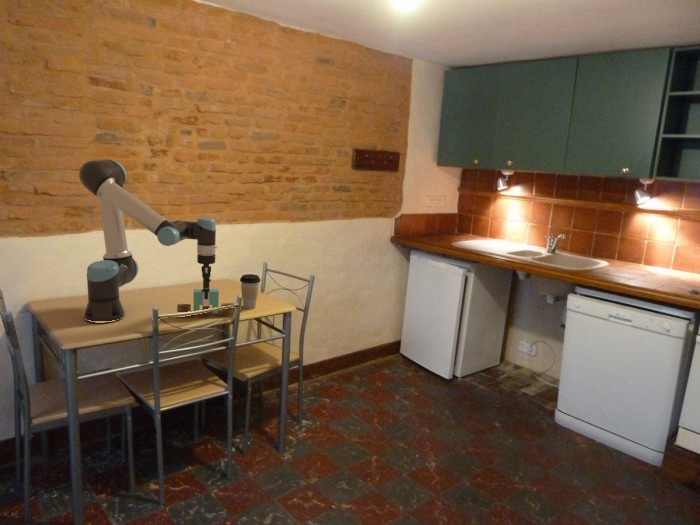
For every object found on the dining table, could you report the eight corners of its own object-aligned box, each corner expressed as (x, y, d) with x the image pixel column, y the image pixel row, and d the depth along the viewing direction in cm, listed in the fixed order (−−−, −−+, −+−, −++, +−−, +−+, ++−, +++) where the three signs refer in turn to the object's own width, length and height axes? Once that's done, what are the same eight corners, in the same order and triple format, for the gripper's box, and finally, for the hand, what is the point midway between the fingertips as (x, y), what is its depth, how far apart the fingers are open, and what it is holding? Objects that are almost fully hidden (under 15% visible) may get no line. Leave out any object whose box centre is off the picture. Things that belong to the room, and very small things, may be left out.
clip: (193, 313, 222) (193, 292, 220) (193, 310, 226) (193, 289, 223) (218, 313, 225) (218, 291, 222) (218, 310, 228) (218, 289, 226)
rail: (177, 318, 220) (177, 307, 218) (177, 313, 225) (177, 303, 224) (234, 316, 226) (234, 306, 225) (233, 312, 231) (233, 302, 230)
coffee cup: (243, 311, 234) (244, 279, 231) (236, 305, 242) (236, 274, 238) (262, 308, 239) (263, 278, 236) (254, 302, 247) (255, 273, 244)
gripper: (216, 260, 208) (215, 310, 213) (214, 247, 232) (214, 292, 237) (196, 260, 206) (196, 310, 211) (197, 247, 230) (197, 292, 235)
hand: (206, 300), depth 224 cm, fingers open, 13 cm apart
